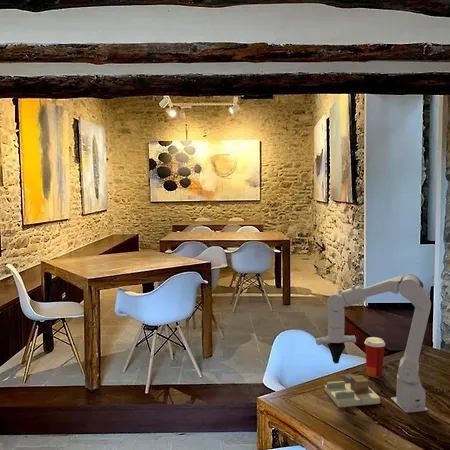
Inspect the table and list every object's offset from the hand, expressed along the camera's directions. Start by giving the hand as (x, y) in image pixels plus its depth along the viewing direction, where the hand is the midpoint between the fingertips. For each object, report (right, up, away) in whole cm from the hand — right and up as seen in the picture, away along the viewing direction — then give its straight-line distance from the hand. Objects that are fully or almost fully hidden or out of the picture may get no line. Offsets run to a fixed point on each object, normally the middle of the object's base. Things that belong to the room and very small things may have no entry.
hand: (335, 362), depth 158 cm
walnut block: (+7, -9, -4) cm, 12 cm away
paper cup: (+18, -9, +13) cm, 24 cm away
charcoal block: (+7, -10, +5) cm, 13 cm away
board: (+4, -11, -4) cm, 13 cm away
